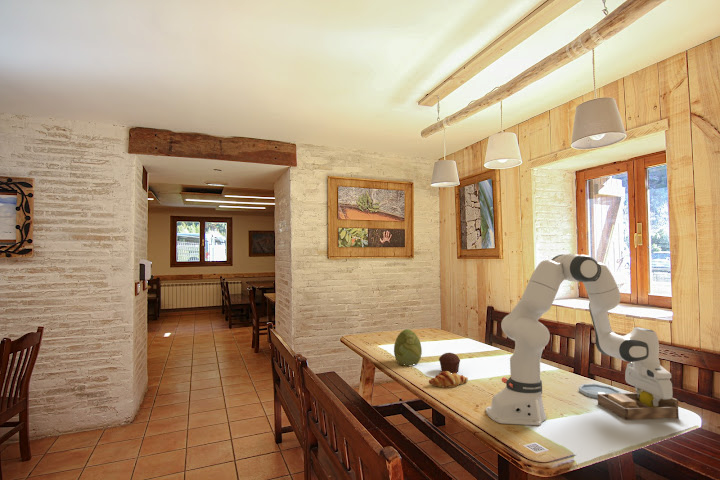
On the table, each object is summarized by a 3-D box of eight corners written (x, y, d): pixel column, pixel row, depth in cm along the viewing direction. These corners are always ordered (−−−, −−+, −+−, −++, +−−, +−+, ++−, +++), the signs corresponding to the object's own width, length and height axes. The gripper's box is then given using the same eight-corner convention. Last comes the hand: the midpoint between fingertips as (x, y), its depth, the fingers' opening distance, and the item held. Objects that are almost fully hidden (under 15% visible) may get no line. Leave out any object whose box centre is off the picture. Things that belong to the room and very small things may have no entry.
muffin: (449, 367, 214) (449, 349, 215) (464, 372, 205) (464, 353, 206) (434, 371, 208) (434, 353, 208) (449, 376, 199) (449, 357, 199)
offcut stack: (624, 416, 148) (623, 402, 148) (607, 407, 157) (607, 394, 157) (639, 416, 148) (639, 402, 149) (622, 406, 157) (621, 393, 158)
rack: (625, 419, 145) (625, 401, 145) (597, 403, 161) (597, 386, 161) (678, 418, 145) (677, 399, 146) (645, 401, 161) (644, 385, 162)
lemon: (640, 406, 157) (639, 386, 157) (657, 409, 154) (656, 389, 154) (639, 410, 153) (638, 390, 153) (656, 414, 149) (655, 393, 150)
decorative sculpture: (393, 367, 217) (393, 332, 217) (394, 359, 233) (393, 326, 234) (422, 367, 215) (421, 332, 215) (421, 359, 231) (420, 326, 232)
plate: (594, 400, 164) (594, 396, 164) (572, 387, 180) (572, 384, 180) (630, 399, 164) (630, 395, 164) (604, 386, 180) (604, 383, 180)
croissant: (464, 387, 192) (460, 371, 196) (474, 383, 184) (470, 367, 188) (426, 391, 186) (423, 374, 190) (435, 387, 178) (431, 370, 182)
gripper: (620, 360, 164) (621, 393, 164) (659, 376, 144) (661, 412, 143) (634, 360, 164) (635, 392, 164) (675, 375, 144) (677, 412, 143)
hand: (647, 402), depth 153 cm, fingers closed on lemon, 6 cm apart
